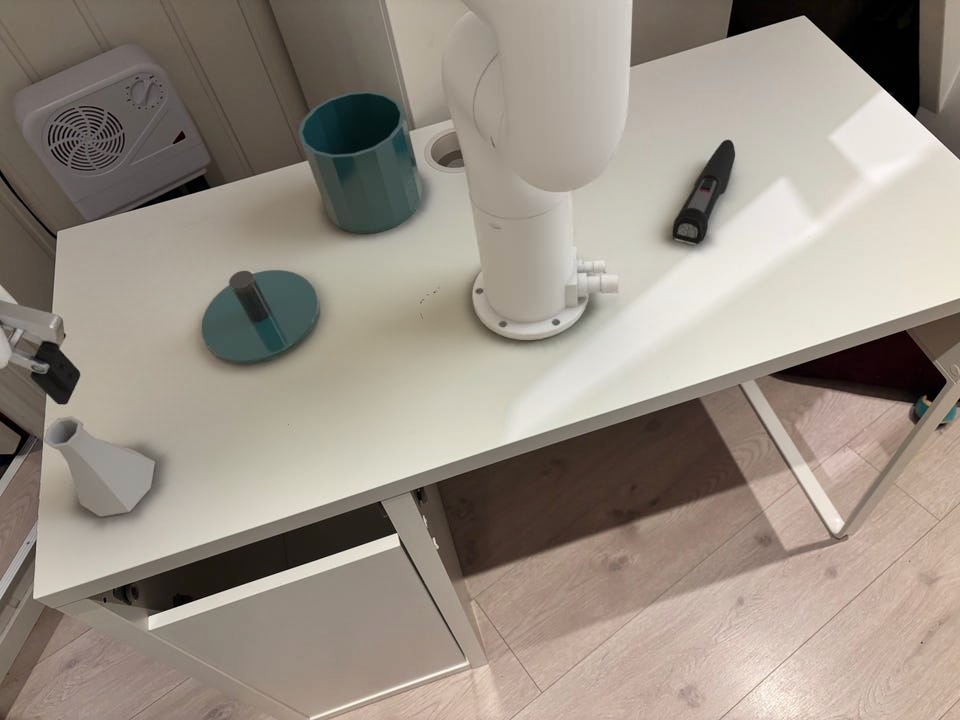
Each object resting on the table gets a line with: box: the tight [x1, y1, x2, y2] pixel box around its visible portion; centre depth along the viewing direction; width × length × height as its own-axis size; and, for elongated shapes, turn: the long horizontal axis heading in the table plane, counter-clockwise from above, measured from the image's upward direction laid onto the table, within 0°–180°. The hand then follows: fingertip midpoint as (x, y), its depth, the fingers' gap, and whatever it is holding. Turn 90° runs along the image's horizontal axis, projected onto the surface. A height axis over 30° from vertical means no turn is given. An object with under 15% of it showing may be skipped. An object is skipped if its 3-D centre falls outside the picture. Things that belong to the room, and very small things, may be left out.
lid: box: [201, 269, 320, 365], centre depth 81 cm, size 13×13×7 cm
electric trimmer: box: [671, 139, 736, 246], centre depth 86 cm, size 4×16×3 cm, turn 152°
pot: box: [297, 90, 423, 235], centre depth 89 cm, size 12×12×12 cm
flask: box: [43, 415, 156, 518], centre depth 69 cm, size 7×7×10 cm
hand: (14, 390), depth 60 cm, fingers open, 9 cm apart
